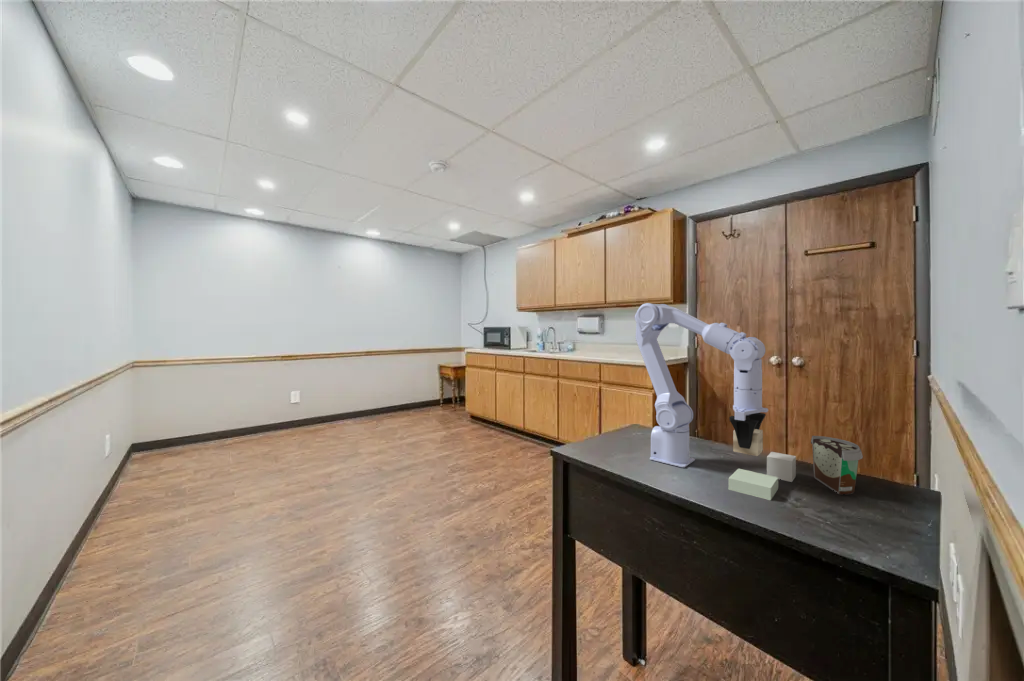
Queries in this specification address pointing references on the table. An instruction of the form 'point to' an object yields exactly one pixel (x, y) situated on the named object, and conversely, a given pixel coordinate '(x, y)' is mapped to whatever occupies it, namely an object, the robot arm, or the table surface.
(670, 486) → the table surface
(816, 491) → the table surface
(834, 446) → the food container
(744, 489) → the sage block
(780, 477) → the grey block
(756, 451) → the birch cube
